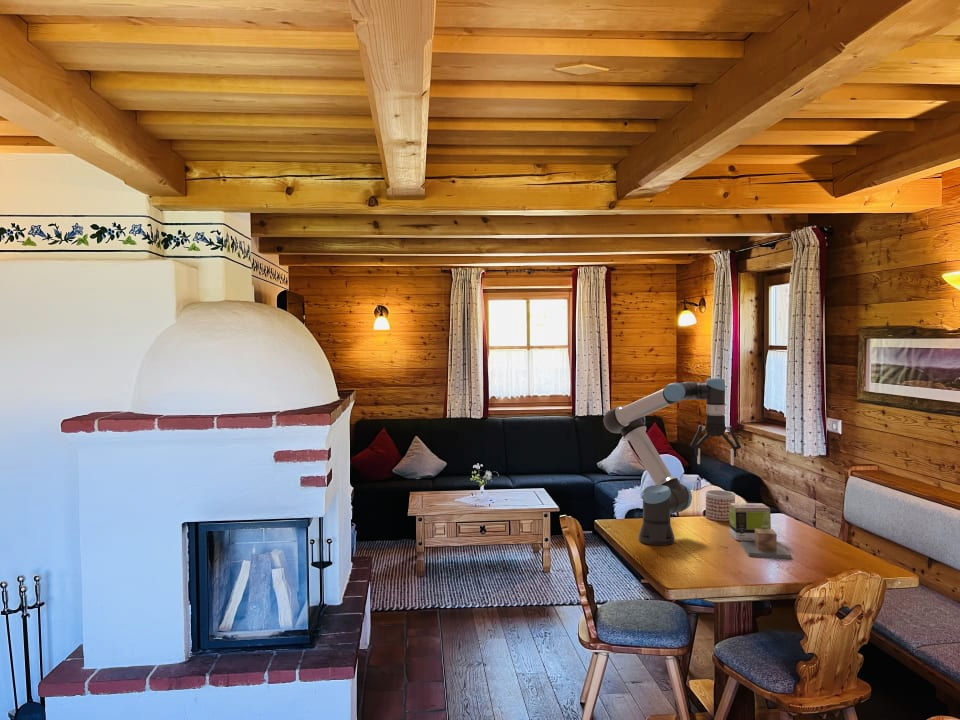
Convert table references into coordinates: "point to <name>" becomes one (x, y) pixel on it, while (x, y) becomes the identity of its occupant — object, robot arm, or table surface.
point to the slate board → (754, 552)
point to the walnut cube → (765, 539)
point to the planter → (719, 505)
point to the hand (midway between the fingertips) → (715, 464)
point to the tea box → (748, 520)
